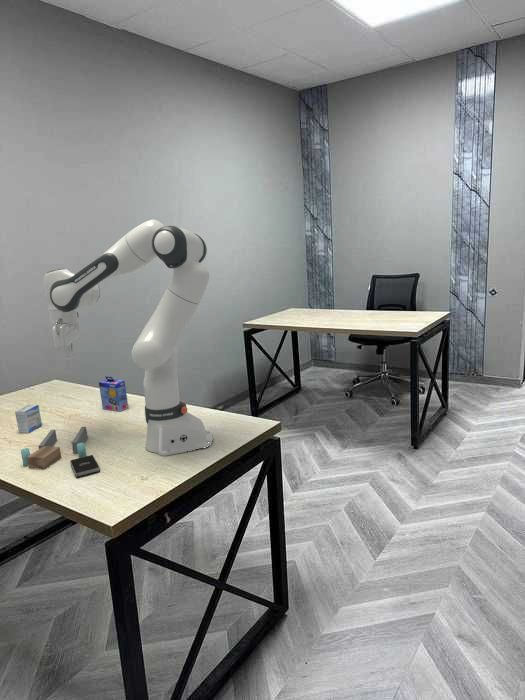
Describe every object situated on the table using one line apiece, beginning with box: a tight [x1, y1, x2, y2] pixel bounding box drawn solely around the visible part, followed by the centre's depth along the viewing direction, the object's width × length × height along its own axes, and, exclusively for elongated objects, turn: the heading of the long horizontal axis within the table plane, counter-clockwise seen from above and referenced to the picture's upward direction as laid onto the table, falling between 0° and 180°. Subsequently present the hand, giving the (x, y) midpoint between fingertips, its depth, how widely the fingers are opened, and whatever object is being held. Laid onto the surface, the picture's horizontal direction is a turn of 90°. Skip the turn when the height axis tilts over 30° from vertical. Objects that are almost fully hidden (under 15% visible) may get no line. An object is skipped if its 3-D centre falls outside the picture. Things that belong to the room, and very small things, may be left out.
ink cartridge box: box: [98, 375, 129, 413], centre depth 199 cm, size 10×6×14 cm, turn 64°
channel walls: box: [37, 426, 88, 455], centre depth 164 cm, size 12×14×4 cm
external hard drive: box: [69, 454, 101, 479], centre depth 148 cm, size 7×11×2 cm, turn 30°
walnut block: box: [27, 446, 62, 470], centre depth 153 cm, size 6×8×4 cm
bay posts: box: [20, 442, 87, 467], centre depth 153 cm, size 19×2×5 cm, turn 98°
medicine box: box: [14, 404, 43, 434], centre depth 182 cm, size 8×4×9 cm, turn 168°
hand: (70, 355), depth 169 cm, fingers closed
